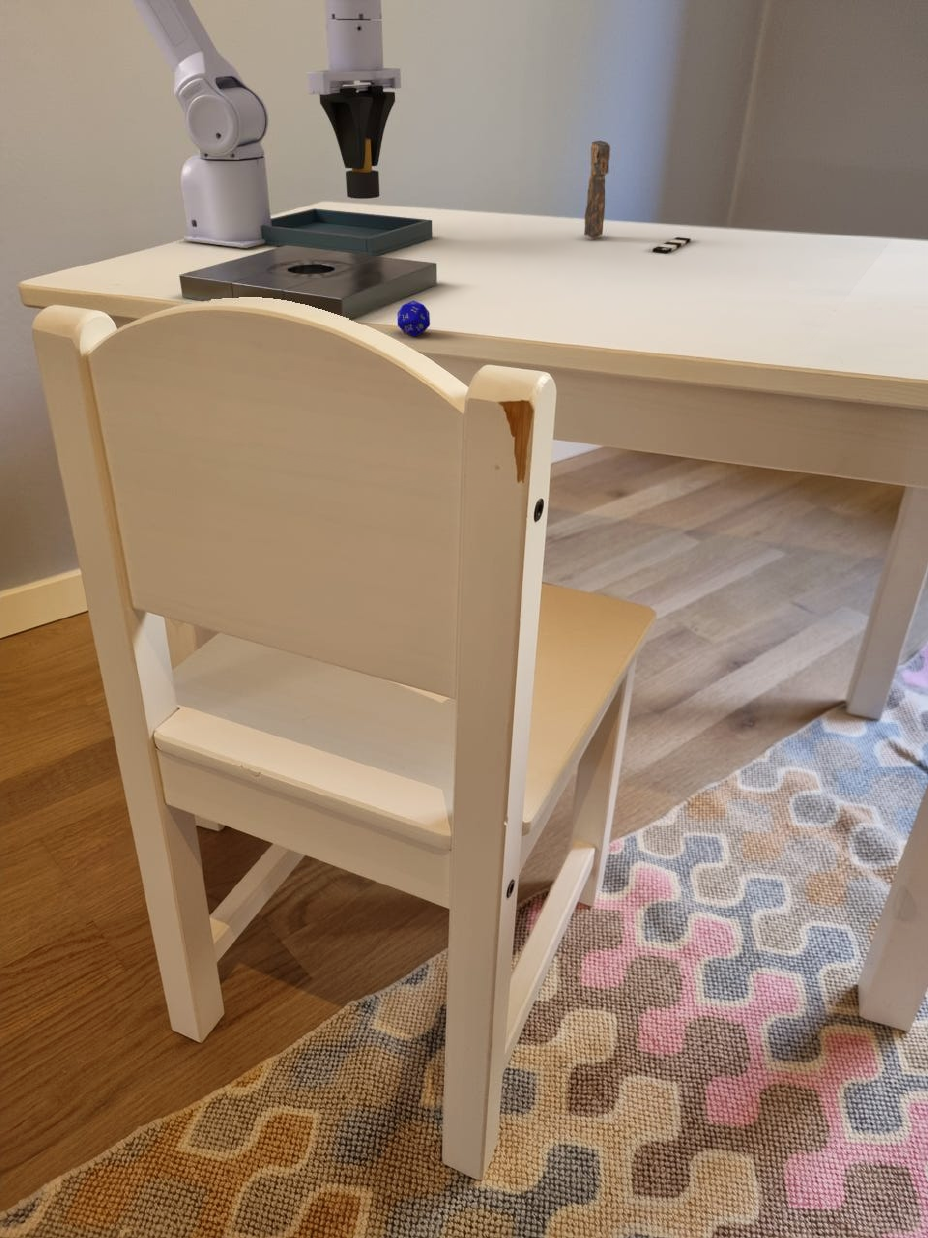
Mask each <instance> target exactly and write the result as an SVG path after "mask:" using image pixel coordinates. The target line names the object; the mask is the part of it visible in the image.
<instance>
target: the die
mask: <svg viewBox="0 0 928 1238" xmlns="http://www.w3.org/2000/svg"><path fill="white" fill-rule="evenodd" d="M397 326H398V328H400V330H401V331H402V333H404V334H406V335H407V336H408V335H409V336H411V337H413V338H415V337H418V336H419V335H422V334H423V333H425V332H426V331H427V329H428V328H429V327H430V326H431V314H430V311H429V310H428V309H427V307H426V306H425V304H423V303H420V302H418V301H416V300H411V301H409V302H406V303H404V304H403V305H402V306H401V307H400V309H399V310H398V311H397Z"/></svg>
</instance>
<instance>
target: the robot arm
mask: <svg viewBox="0 0 928 1238" xmlns="http://www.w3.org/2000/svg"><path fill="white" fill-rule="evenodd" d="M130 1H131V3H132V4H133V6H134V8H135V9H136V11H137V13H138V15H139V17H140V18H141V20H142V21H143V23H144V25H145V26H146V28H147V30H148V32H149V33H150V35H151V37H152V38H153V41H154V42H155V44H156V45H157V47H158V49H159V51H160V52H161V54H162V56H163V57H164V60H165V61H166V63H167V65H168V66H169V68H170V69H171V71H172V73H173V76H174V79H173V81H174V83H173V94H174V97H175V99H176V101H177V102H178V104H179V106H180V108H181V111H182V115H183V120H184V126H185V130H186V133H187V135H188V137H189V139H190V141H191V142H192V143H193V144H194V146H195V147H196V148H197V149H198V150H197V152H198V154H195V155H192V156H190V157H188V159H186V161H185V162H184V164H183V166H182V169H181V173H180V187H181V195H182V200H183V201H182V202H183V206H184V207H183V208H184V215H185V223H186V229H187V234H188V235H184V236H183V240H184V241H187V242H195V243H201V244H202V243H203V244H210V245H218V246H227V247H233V248H234V247H235V248H241V249H247V248H248V249H249V248H252V247H256V246H259V245H260V246H261V245H263V244H264V243H265V239H262V234H261V226H263V225H265V226H271V218H272V217H271V207H270V196H269V188H268V177H267V168H266V166H267V165H266V158H265V150H264V148H263V146H262V143H261V142H262V141H263V140H264V138H265V137H266V135H267V131H268V128H269V114H268V110H267V107H266V104H265V102H264V101H263V99H262V98H261V97H260V95H259V94H258V93H257V92H256V91H255V90H253V88H252V89H251V88H250V87H249V86H248V85H247V84H246V83H245V82H244V80H243V79H242V78H241V76H240V74H239V73H238V70H237V69H236V68H235V67H234V66H233V64H231V63H230V62H229V61H228V60H227V59H226V58H225V57H224V56H223V55H222V54H221V53H220V52H219V51H218V50H217V48H216V46H215V44H214V43H213V41H212V39H211V37H210V35H209V34H208V32H207V30H206V28H205V27H204V25H203V23H202V21H201V19H200V17H199V16H198V14H197V13H196V11H195V8H194V6H193V5H192V3H191V1H190V0H130ZM324 12H325V13H324V14H325V31H326V45H327V58H328V59H327V60H328V69H325V70H318V71H317V70H316V71H307V84H308V85H307V86H308V94H309V95H319V105H320V106H321V108H322V109H323V111H324V112H325V114H326V116H327V119H328V120H329V122H330V125H331V127H332V129H333V132H334V134H335V137H336V140H337V144H338V148H339V151H340V154H341V157H342V161H343V164H344V167H345V169H351V170H352V169H363V168H364V164H365V149H366V139H370V140H371V159H372V167H378V164H379V159H380V154H381V147H382V143H383V142H382V141H383V136H384V132H385V128H386V125H387V121H388V118H389V116H390V113H391V111H392V108H393V107H394V105H395V103H396V92H395V91H384V90H389V89H395V90H396V89H397V90H398V89H402V79H401V78H402V75H401V72H402V71H401V68H399V67H396V68H395V67H384V55H383V54H384V51H383V46H384V45H383V23H382V22H383V21H382V0H324ZM357 81H358V82H359V83H361V84H356V85H355V82H357ZM362 83H365V84H362Z"/></svg>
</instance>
